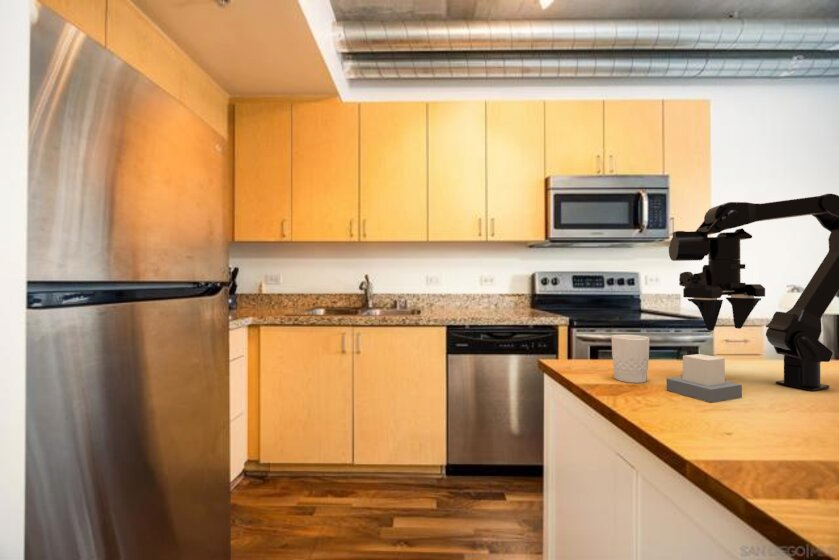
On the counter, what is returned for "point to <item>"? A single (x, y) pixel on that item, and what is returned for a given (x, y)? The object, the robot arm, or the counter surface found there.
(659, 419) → the counter surface
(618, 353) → the white cup
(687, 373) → the cube
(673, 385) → the base
